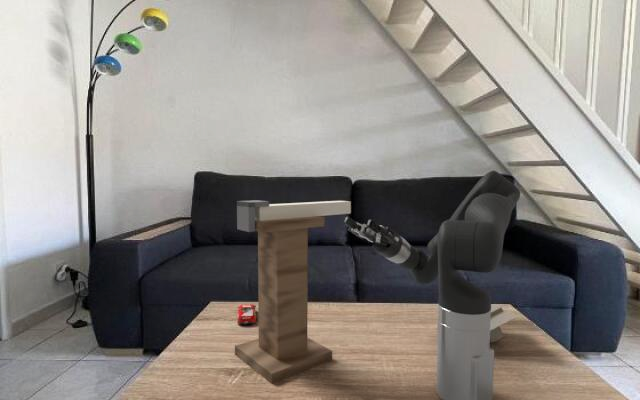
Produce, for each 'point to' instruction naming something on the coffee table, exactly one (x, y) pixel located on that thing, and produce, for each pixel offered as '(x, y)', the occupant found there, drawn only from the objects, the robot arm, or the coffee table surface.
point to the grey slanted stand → (498, 321)
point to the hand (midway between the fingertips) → (357, 221)
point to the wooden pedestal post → (283, 302)
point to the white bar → (285, 211)
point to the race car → (246, 314)
